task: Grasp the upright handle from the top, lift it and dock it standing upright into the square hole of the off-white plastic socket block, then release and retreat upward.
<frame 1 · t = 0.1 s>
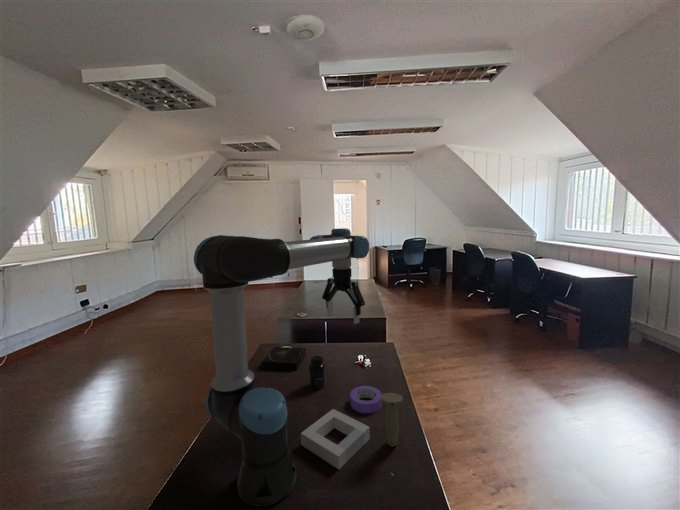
hand: (343, 319, 124), 28 cm above the table, tool pointing down, fingers open, 13 cm apart
socket: (335, 441, 95), on the table
handle: (392, 444, 93), on the table
supplement bottle: (317, 385, 127), on the table
portable cd player: (284, 362, 149), on the table
masking tape: (365, 404, 114), on the table
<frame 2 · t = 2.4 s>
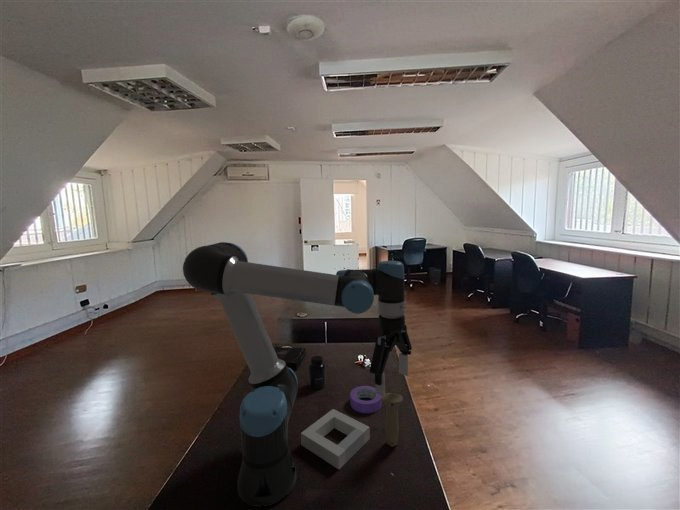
hand: (392, 383, 91), 19 cm above the table, tool pointing down, fingers open, 13 cm apart
nothing on the table moved.
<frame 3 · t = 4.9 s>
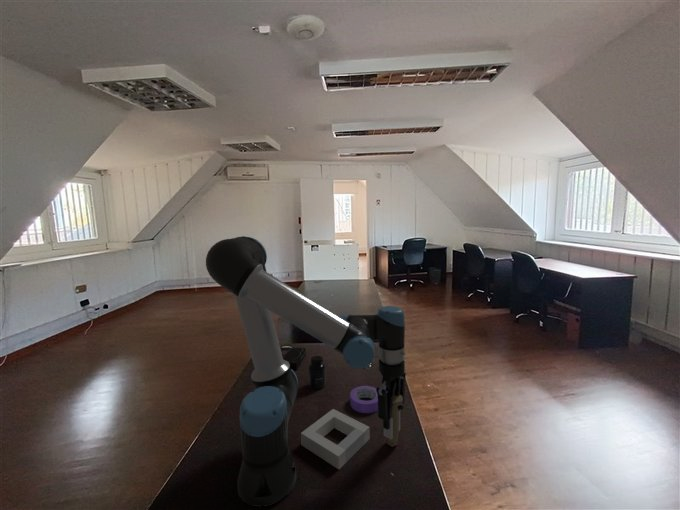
hand: (392, 432, 93), 4 cm above the table, tool pointing down, fingers closed on handle, 4 cm apart
handle: (392, 444, 93), on the table, touching gripper
everything else where it was.
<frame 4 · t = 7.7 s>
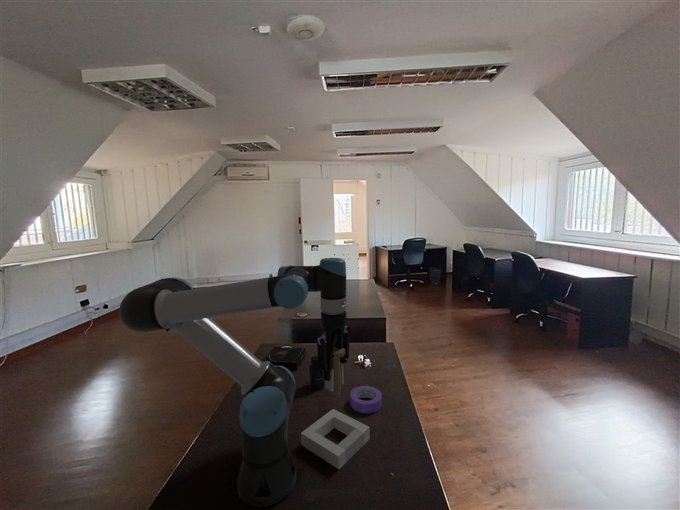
hand: (334, 386, 92), 18 cm above the table, tool pointing down, fingers closed on handle, 4 cm apart
handle: (334, 397, 93), point 15 cm above the table, touching gripper
everything else where it was.
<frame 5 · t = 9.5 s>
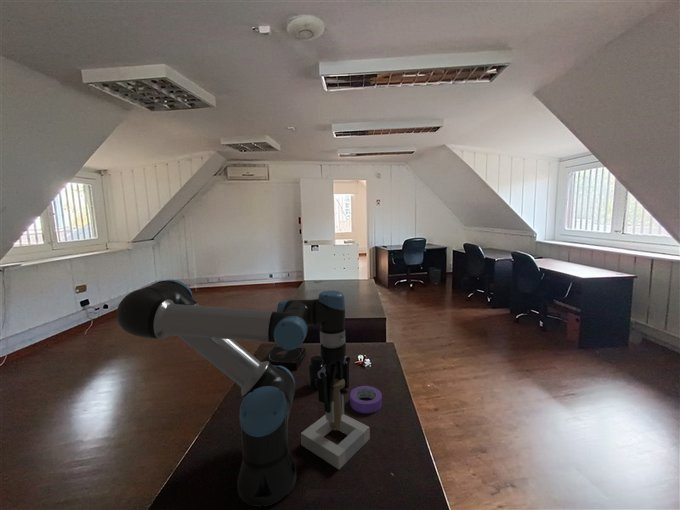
hand: (335, 416, 94), 8 cm above the table, tool pointing down, fingers closed on handle, 4 cm apart
handle: (335, 428, 94), point 5 cm above the table, touching gripper
everything else where it was.
when the fingers open (5 cm above the table, at t = 10.8 s): handle drops 1 cm, resting in socket.
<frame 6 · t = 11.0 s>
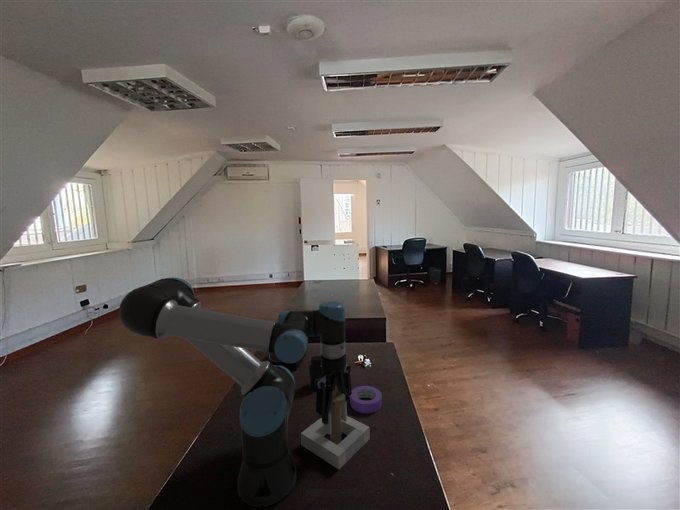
hand: (335, 425, 94), 5 cm above the table, tool pointing down, fingers open, 7 cm apart
handle: (335, 442, 95), resting in socket
everything else where it was.
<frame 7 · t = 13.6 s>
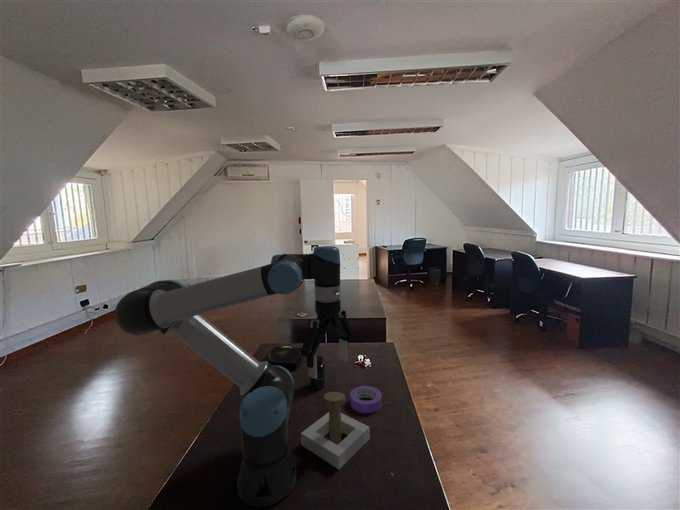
hand: (329, 368, 92), 24 cm above the table, tool pointing down, fingers open, 13 cm apart
nothing on the table moved.
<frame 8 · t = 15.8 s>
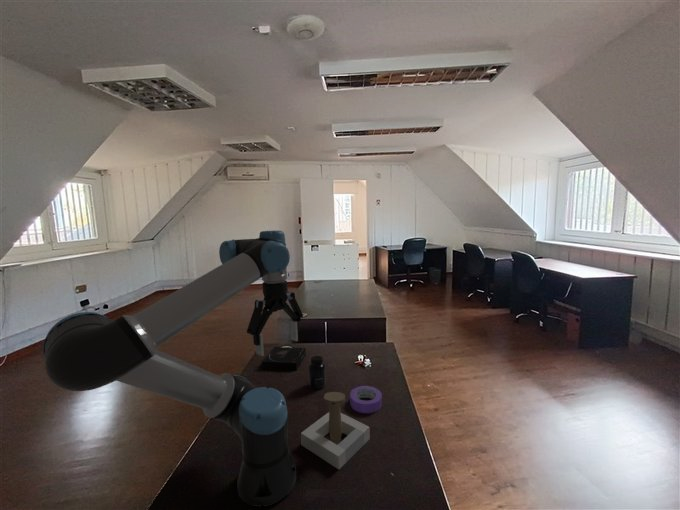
hand: (278, 347, 97), 29 cm above the table, tool pointing down, fingers open, 13 cm apart
nothing on the table moved.
at the end: handle 0.0 cm off-centre on the socket, point 0.0 cm above the socket's base; handle tilted 0°; the gripper is holding nothing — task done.
